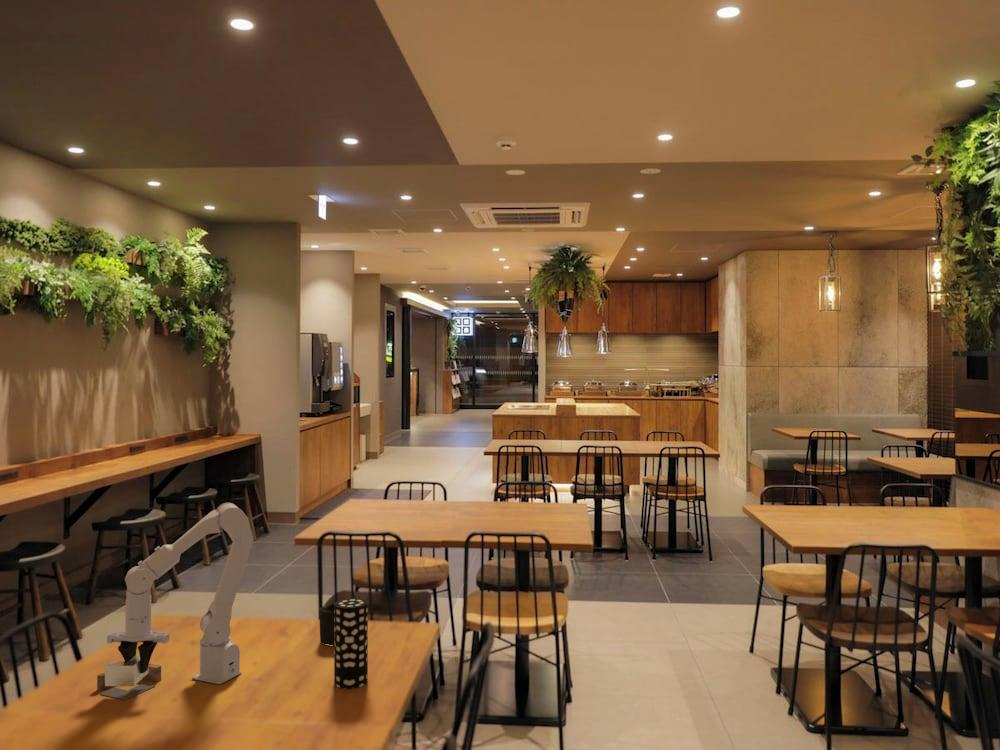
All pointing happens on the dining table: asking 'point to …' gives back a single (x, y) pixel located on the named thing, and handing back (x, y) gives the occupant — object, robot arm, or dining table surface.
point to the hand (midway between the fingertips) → (137, 671)
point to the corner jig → (152, 675)
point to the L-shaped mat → (127, 692)
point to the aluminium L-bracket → (124, 672)
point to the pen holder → (327, 624)
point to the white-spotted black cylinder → (350, 643)
